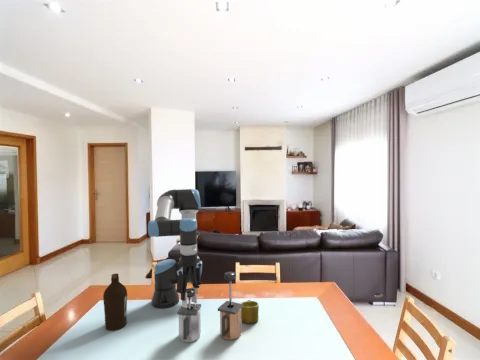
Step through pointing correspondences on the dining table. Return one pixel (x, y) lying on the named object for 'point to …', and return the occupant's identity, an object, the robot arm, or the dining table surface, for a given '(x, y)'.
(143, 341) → the dining table surface
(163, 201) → the robot arm
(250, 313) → the mug
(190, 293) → the plunger steel
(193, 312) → the plate
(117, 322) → the olive oil
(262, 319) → the dining table surface
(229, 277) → the plunger copper
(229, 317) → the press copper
